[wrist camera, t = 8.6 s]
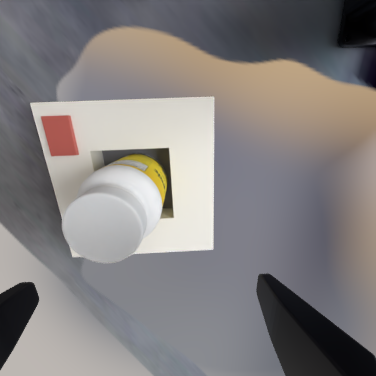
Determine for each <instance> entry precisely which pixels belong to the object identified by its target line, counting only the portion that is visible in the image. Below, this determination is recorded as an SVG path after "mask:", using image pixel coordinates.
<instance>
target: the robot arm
mask: <svg viewBox="0 0 376 376" xmlns="http://www.w3.org/2000/svg"><path fill="white" fill-rule="evenodd" d="M345 37H347V41H345ZM338 44H339V46H340V47H367V46H376V0H345V3H344V9H343V16H342V22H341V27H340V33H339V38H338ZM257 296H258V300H259V303H260V306H261V310H262V313H263V316H264V319H265V322H266V326H267V329H268V332H269V335H270V338H271V341H272V344H273V346H274V348H275V351H276V354H277V356H278V358H279V361H280V363H281V366H282V368H283V371H284V373H285V375H286V376H376V358H375V356H374V355H373V354H372V353H371V352H369V351H368V350H367V349H366V348H364V347H363V346H362V345H361V344H359V343H358V342H357V341H355V340H354V339H353V338H352V337H350V336H349V335H348V334H346V333H345V332H344V331H343V330H341V329H340V328H339V327H337V326H336V325H335V324H334V323H332V322H331V321H330V320H328V319H327V318H326V317H325V316H323V315H322V314H321V313H319V312H318V311H317V310H316V309H314V308H313V307H312V306H310V305H309V304H308V303H307V302H305V301H304V300H303V299H301V298H300V297H299V296H298V295H296V294H295V293H294V292H292V291H291V290H290V289H289V288H287V287H286V286H285V285H283V284H282V283H281V282H280V281H278V280H277V279H276V278H274V277H273V276H272V275H270V274H259V276H258V282H257ZM38 302H39V296H38V293H37V290H36V288H35V285H34V283H32V282H22V283H19V284H17V285H15V286H14V287H12V288H10V289H9V290H6V291H5V292H3V293H1V294H0V370H1V368H2V367H3V365H4V363H5V362H6V360H7V359H8V357H9V355H10V354H11V352H12V351H13V349H14V347H15V345H16V344H17V342H18V340H19V338H20V336H21V334H22V333H23V331H24V329H25V327H26V325H27V323H28V322H29V319H30V318H31V316H32V314H33V312H34V310H35V308H36V307H37V305H38Z"/></svg>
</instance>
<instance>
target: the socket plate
mask: <svg viewBox="0 0 376 376" xmlns="http://www.w3.org/2000/svg"><path fill="white" fill-rule="evenodd" d="M30 105H31V109H32V112H33V116H34V120H35V123H36V127H37V130H38V134H39V138H40V141H41V145H42V148H43V152H44V156H45V159H46V163H47V166H48V170H49V174H50V177H51V181H52V185H53V188H54V192H55V195H56V199H57V203H58V206H59V210H60V213H61V217H62V218H63V214H64V212H65V210H66V208H67V207H68V205H69V204H70V203H71V202H72V201H74V200H75V199H76V197H77V193H78V190H79V188H80V186H81V184H82V183H83V182H84V180H85V179H86V178H87V177H88V176H89V175H91V174H92V173H94V172H95V171H97V170H98V169H100V168H102V167H104V166H107V165H108V164H110V163H112V162H114V161H117V160H119V159H120V158H122V157H125V156H127V155H130V154H136V153H139V154H146V155H149V156H151V157H153V158H155V159H156V160H157V161H158V162H159V163H160V164H161V165H162V166H163V168H164V170H165V172H166V175H167V189H166V194H165V199H164V203H163V208H162V213H161V217H160V219H159V222H158V224H157V225H156V227H155V229H154V230H153V231H152V232H151V233H150V234H149V235H148V236H146V237H145V238H143V239H142V241H141V243H140V245H139V247H138V249H137V250H136V251H135V252H134V253H133V254H140V253H158V252H178V251H196V250H212V249H213V217H214V215H213V213H214V97H184V98H155V99H127V100H100V101H99V100H98V101H73V102H72V101H71V102H70V101H69V102H40V103H30ZM70 249H71V253H72V257H82V256H80V255H79V254H78V253H76V252H75V251H74V250H73V249H72V248H71V247H70Z"/></svg>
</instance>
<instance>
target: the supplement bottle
mask: <svg viewBox="0 0 376 376" xmlns="http://www.w3.org/2000/svg"><path fill="white" fill-rule="evenodd" d="M166 189H167V175H166V172H165V170H164V168H163V166H162V165H161V164H160V163H159V162H158V161H157V160H156V159H155V158H153V157H151V156H149V155H146V154H139V153H136V154H130V155H127V156H125V157H122V158H120V159H119V160H117V161H114V162H112V163H110V164H108V165H107V166H104V167H102V168H100V169H98V170H97V171H95V172H94V173H92V174H91V175H89V176H88V177H87V178H86V179H85V180H84V182H83V183H82V184H81V186H80V188H79V190H78V193H77V197H76V199H75V200H74V201H72V202H71V203H70V204H69V205H68V207H67V208H66V210H65V212H64V214H63V218H62V231H63V235H64V237H65V240H66V241H67V243H68V244H69V246H70V247H71V248H72V249H73V250H74V251H75V252H76V253H78V254H79V255H80V256H82V257H84V258H86V259H88V260H91V261H94V262H99V263H114V262H118V261H121V260H123V259H126V258H127V257H129V256H130V255H132V254H133V253H134V252H135V251H136V250H137V249H138V247H139V245H140V243H141V241H142V239H143V238H145V237H146V236H148V235H149V234H150V233H151V232H152V231H153V230H154V229H155V227H156V225H157V224H158V222H159V219H160V217H161V213H162V208H163V203H164V199H165V194H166Z"/></svg>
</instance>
